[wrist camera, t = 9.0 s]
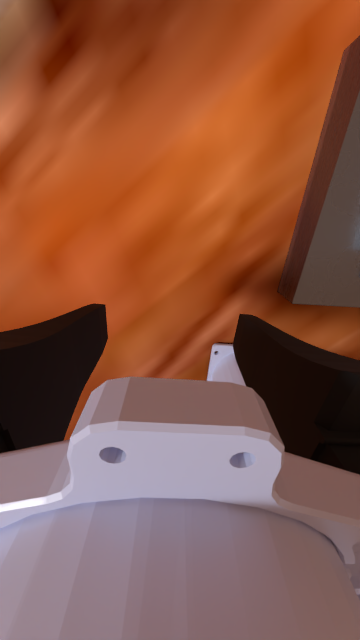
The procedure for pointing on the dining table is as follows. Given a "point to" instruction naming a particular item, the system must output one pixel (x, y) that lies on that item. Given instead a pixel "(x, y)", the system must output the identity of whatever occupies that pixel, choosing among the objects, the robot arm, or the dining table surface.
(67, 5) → the dining table surface
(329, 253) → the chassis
